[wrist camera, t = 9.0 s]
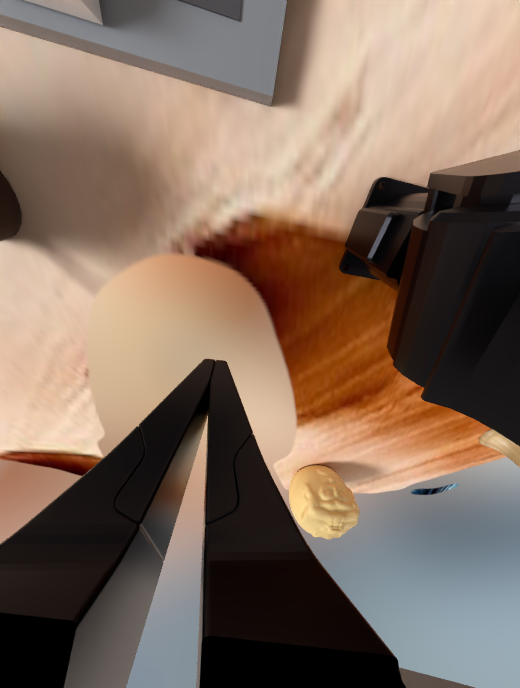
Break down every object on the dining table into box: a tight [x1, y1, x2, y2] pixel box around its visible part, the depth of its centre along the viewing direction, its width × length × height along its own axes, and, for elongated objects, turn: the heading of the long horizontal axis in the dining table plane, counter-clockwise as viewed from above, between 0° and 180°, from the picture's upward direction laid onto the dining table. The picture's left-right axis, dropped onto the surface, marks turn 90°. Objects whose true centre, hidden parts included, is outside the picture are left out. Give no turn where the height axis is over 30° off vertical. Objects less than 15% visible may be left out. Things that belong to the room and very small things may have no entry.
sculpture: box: [289, 465, 359, 540], centre depth 40 cm, size 12×12×11 cm
